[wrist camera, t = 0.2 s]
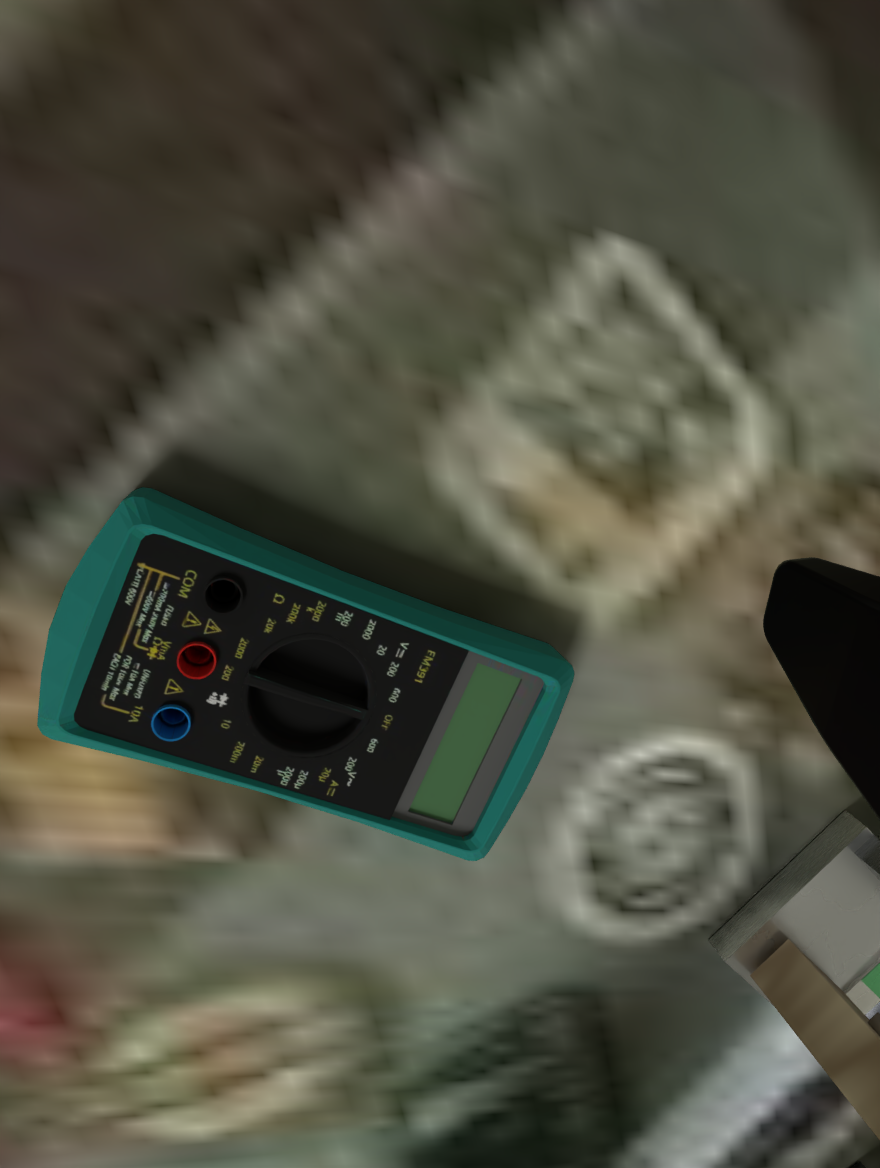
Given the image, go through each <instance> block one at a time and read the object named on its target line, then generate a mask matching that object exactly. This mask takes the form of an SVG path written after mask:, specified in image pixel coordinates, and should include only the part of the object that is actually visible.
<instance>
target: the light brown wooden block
mask: <svg viewBox="0 0 880 1168" xmlns="http://www.w3.org/2000/svg"><path fill="white" fill-rule="evenodd" d="M750 976H751V977H752V979H753V980H754V981H755V983H756V984H757V985H758V986H759V988H760V989H761V990H762V991H763V993H764V994H765V995H766V996H767V998H768V999H769V1000H770V1002H771V1003H772V1004H773V1005H774V1007H775V1008H776V1009H777V1010H778V1012H779V1013H780V1014H781V1016H782V1017H783V1018H784V1019H785V1021H786V1022H787V1023H788V1024H789V1026H790V1027H791V1028H792V1030H793V1031H794V1032H795V1033H796V1035H797V1036H798V1037H799V1038H800V1040H801V1041H802V1042H803V1043H804V1045H805V1046H806V1047H807V1049H808V1050H809V1051H810V1052H811V1054H812V1055H813V1056H814V1057H815V1059H816V1060H817V1061H818V1063H819V1064H820V1065H821V1066H822V1068H823V1069H824V1070H825V1071H826V1073H827V1074H828V1075H829V1077H830V1078H831V1079H832V1080H833V1082H834V1083H835V1084H836V1085H837V1087H838V1088H839V1089H840V1090H841V1092H842V1093H843V1094H844V1096H845V1097H846V1098H847V1099H848V1101H849V1102H850V1103H851V1104H852V1106H853V1107H854V1108H855V1110H856V1111H857V1112H858V1113H859V1115H860V1116H861V1117H862V1118H863V1120H864V1121H865V1122H866V1123H867V1125H868V1126H869V1127H870V1129H871V1130H872V1131H873V1132H874V1134H875V1135H876V1136H877V1137H878V1139H879V1140H880V1014H879V1013H878V1012H877V1013H876V1014H875V1015H874V1016H873V1017H872V1018H871V1019H870V1020H869V1019H868V1018H867V1017H866V1016H865V1015H864V1014H863V1013H862V1011H861V1010H860V1009H859V1008H858V1007H857V1006H856V1005H855V1004H854V1003H853V1002H852V1000H851V999H850V998H849V997H848V996H847V995H846V994H845V993H844V992H843V991H842V990H841V989H840V988H839V987H838V986H837V985H836V984H835V983H834V982H833V981H832V980H831V979H830V978H829V977H828V976H827V975H826V974H825V973H824V972H822V971H821V970H820V969H819V968H818V967H817V966H816V965H815V964H814V963H813V962H812V961H811V960H810V959H809V958H808V957H807V956H806V955H805V954H804V953H803V952H802V951H801V950H800V949H799V948H798V947H796V946H795V945H794V944H793V943H792V942H791V941H790V940H789V939H788V940H787V941H786V942H785V943H784V944H783V945H782V946H780V947H779V948H778V949H777V950H776V951H775V952H774V953H773V954H772V955H771V956H770V957H769V958H768V959H767V960H766V961H765V962H764V963H763V964H761V965H760V966H759V967H758V968H757V969H756V970H755V971H754V972H753V973H752V974H751V975H750Z"/></svg>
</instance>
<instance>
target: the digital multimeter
mask: <svg viewBox="0 0 880 1168" xmlns="http://www.w3.org/2000/svg"><path fill="white" fill-rule="evenodd" d="M163 535H164V536H163ZM165 536H166V537H165ZM168 537H169V538H168ZM171 538H172V539H171ZM173 539H174V540H173ZM176 540H177V541H176ZM179 541H180V542H179ZM181 542H182V543H181ZM184 543H185V544H184ZM186 544H188V545H186ZM189 545H190V546H189ZM192 546H193V547H192ZM194 547H196V548H194ZM197 548H198V549H197ZM200 549H201V550H200ZM202 550H204V551H202ZM205 551H206V552H205ZM208 552H209V553H208ZM210 553H212V554H210ZM213 554H214V555H213ZM216 555H217V556H216ZM218 556H220V557H218ZM221 557H222V558H221ZM224 558H225V559H224ZM226 559H228V560H226ZM229 560H230V561H229ZM232 561H233V562H232ZM234 562H236V563H234ZM237 563H238V564H237ZM240 564H241V565H240ZM242 565H244V566H242ZM245 566H246V567H245ZM248 567H249V568H248ZM250 568H252V569H250ZM253 569H254V570H253ZM256 570H257V571H256ZM258 571H260V572H258ZM261 572H262V573H261ZM264 573H265V574H264ZM266 574H268V575H266ZM269 575H270V576H269ZM272 576H273V577H272ZM274 577H275V578H274ZM277 578H278V579H277ZM280 579H281V580H280ZM282 580H283V581H282ZM124 581H125V582H124ZM285 581H286V582H285ZM288 582H289V583H288ZM290 583H291V584H290ZM293 584H294V585H293ZM295 585H297V586H295ZM298 586H299V587H298ZM301 587H302V588H301ZM303 588H304V589H303ZM306 589H307V590H306ZM309 590H310V591H309ZM311 591H312V592H311ZM314 592H315V593H314ZM317 593H318V594H317ZM119 594H120V595H119ZM319 594H320V595H319ZM322 595H323V596H322ZM325 596H326V597H325ZM327 597H328V598H327ZM330 598H331V599H330ZM335 600H336V601H335ZM338 601H339V602H338ZM343 603H344V604H343ZM346 604H347V605H346ZM351 606H352V607H351ZM354 607H355V608H354ZM359 609H360V610H359ZM362 610H363V611H362ZM112 612H113V613H112ZM367 612H368V613H367ZM370 613H371V614H370ZM375 615H376V616H375ZM378 616H379V617H378ZM383 618H384V619H383ZM386 619H387V620H386ZM391 621H392V622H391ZM394 622H395V623H394ZM396 623H397V624H396ZM399 624H400V625H399ZM107 625H108V626H107ZM402 625H403V626H402ZM404 626H405V627H404ZM407 627H408V628H407ZM410 628H411V629H410ZM412 629H413V630H412ZM415 630H416V631H415ZM418 631H419V632H418ZM420 632H421V633H420ZM423 633H424V634H423ZM321 634H324V635H321ZM426 634H427V635H426ZM295 635H297V636H295ZM428 635H429V636H428ZM431 636H432V637H431ZM334 637H335V638H334ZM434 637H435V638H434ZM102 638H103V639H102ZM285 638H286V639H285ZM337 638H338V639H337ZM436 638H437V639H436ZM283 639H284V640H283ZM439 639H440V640H439ZM281 640H282V641H281ZM442 640H443V641H442ZM444 641H445V642H444ZM447 642H448V643H447ZM100 643H101V644H100ZM347 643H348V644H347ZM450 643H451V644H450ZM273 644H274V645H273ZM452 644H453V645H452ZM271 645H272V646H271ZM455 645H456V646H455ZM270 646H271V647H270ZM460 647H461V648H460ZM463 648H464V649H463ZM261 653H262V654H261ZM260 654H261V655H260ZM259 655H260V656H259ZM95 656H96V657H95ZM254 661H255V662H254ZM253 662H254V663H253ZM251 665H252V666H251ZM90 669H91V670H90ZM371 670H372V671H371ZM246 674H247V675H246ZM245 677H246V678H245ZM573 678H574V670H573V667H572V665H571V664H570V663H569V662H568V661H567V660H566V659H565V658H564V657H563V656H562V655H561V654H559V653H558V652H557V651H556V650H555V649H554V648H553V647H552V646H551V645H549V644H548V643H545V642H542V641H539V640H536V639H533V638H530V637H527V636H524V635H521V634H518V633H515V632H512V631H509V630H506V629H503V628H500V627H497V626H494V625H491V624H488V623H485V622H482V621H479V620H476V619H473V618H470V617H467V616H464V615H461V614H458V613H455V612H452V611H449V610H446V609H443V608H440V607H438V606H435V605H432V604H430V603H427V602H424V601H422V600H419V599H416V598H414V597H411V596H408V595H406V594H403V593H400V592H398V591H395V590H392V589H390V588H387V587H384V586H382V585H379V584H376V583H374V582H371V581H368V580H365V579H363V578H360V577H357V576H355V575H352V574H349V573H347V572H344V571H342V570H339V569H337V568H334V567H332V566H330V565H327V564H325V563H323V562H320V561H318V560H315V559H313V558H311V557H308V556H306V555H304V554H301V553H299V552H296V551H294V550H292V549H289V548H287V547H285V546H282V545H280V544H277V543H275V542H273V541H270V540H268V539H266V538H263V537H261V536H258V535H256V534H254V533H251V532H249V531H246V530H244V529H242V528H239V527H237V526H235V525H233V524H230V523H228V522H226V521H224V520H222V519H219V518H217V517H215V516H213V515H210V514H208V513H206V512H204V511H201V510H199V509H197V508H195V507H192V506H190V505H188V504H186V503H183V502H181V501H179V500H177V499H175V498H172V497H170V496H168V495H166V494H163V493H161V492H159V491H157V490H154V489H152V488H144V487H141V488H139V489H136V490H134V491H132V492H131V493H130V494H129V495H128V496H127V497H126V498H125V499H124V500H123V501H122V502H121V504H120V505H119V506H118V508H117V509H116V510H115V512H114V513H113V514H112V516H111V517H110V519H109V520H108V521H107V523H106V524H105V525H104V527H103V528H102V530H101V531H100V532H99V534H98V535H97V536H96V538H95V539H94V541H93V542H92V543H91V545H90V546H89V548H88V549H87V551H86V553H85V554H84V556H83V558H82V559H81V561H80V563H79V565H78V566H77V568H76V570H75V571H74V573H73V575H72V576H71V578H70V580H69V581H68V583H67V585H66V587H65V589H64V592H63V594H62V597H61V600H60V602H59V605H58V608H57V610H56V613H55V616H54V618H53V621H52V624H51V626H50V629H49V634H48V640H47V645H46V651H45V656H44V662H43V667H42V673H41V685H40V698H39V710H38V725H37V726H38V728H39V729H40V731H41V733H42V734H43V735H45V736H47V737H49V738H50V739H53V740H58V741H62V742H66V743H70V744H74V745H79V746H83V747H87V748H91V749H95V750H100V751H104V752H108V753H112V754H116V755H121V756H125V757H129V758H133V759H137V760H142V761H146V762H150V763H154V764H157V765H161V766H165V767H169V768H173V769H176V770H180V771H184V772H188V773H192V774H195V775H199V776H203V777H207V778H211V779H214V780H218V781H222V782H226V783H230V784H233V785H237V786H241V787H245V788H249V789H252V790H256V791H260V792H263V793H266V794H269V795H273V796H276V797H279V798H282V799H285V800H289V801H292V802H295V803H298V804H302V805H305V806H308V807H311V808H315V809H318V810H321V811H324V812H327V813H331V814H334V815H337V816H340V817H344V818H347V819H350V820H353V821H357V822H360V823H362V824H365V825H368V826H371V827H374V828H377V829H380V830H382V831H385V832H388V833H391V834H394V835H397V836H400V837H402V838H405V839H408V840H411V841H414V842H417V843H420V844H422V845H425V846H428V847H431V848H434V849H437V850H440V851H442V852H445V853H448V854H451V855H454V856H457V857H460V858H462V859H465V860H468V861H477V860H479V859H481V858H484V857H485V855H486V854H487V853H488V852H489V850H490V849H491V847H492V846H493V844H494V842H495V841H496V839H497V837H498V836H499V834H500V833H501V831H502V829H503V828H504V826H505V825H506V823H507V821H508V820H509V818H510V816H511V814H512V813H513V811H514V809H515V807H516V806H517V804H518V802H519V800H520V799H521V797H522V795H523V793H524V792H525V790H526V788H527V786H528V784H529V782H530V780H531V778H532V776H533V774H534V772H535V770H536V768H537V766H538V764H539V762H540V760H541V758H542V756H543V754H544V752H545V749H546V747H547V745H548V742H549V740H550V737H551V735H552V733H553V730H554V728H555V726H556V723H557V721H558V718H559V716H560V713H561V711H562V708H563V706H564V703H565V700H566V698H567V695H568V693H569V690H570V687H571V685H572V682H573ZM85 682H86V683H85ZM242 687H243V688H242ZM241 699H242V703H241ZM374 706H375V707H374ZM370 718H371V719H370ZM247 724H248V725H247ZM366 725H367V726H366ZM364 728H365V729H364ZM359 734H360V735H359ZM358 735H359V736H358ZM357 736H358V737H357ZM356 737H357V738H356ZM355 738H356V739H355ZM354 739H355V740H354ZM349 743H350V744H349ZM346 745H347V746H346ZM345 746H346V747H345ZM343 747H344V748H343ZM335 751H336V752H335ZM333 752H334V753H333ZM283 754H284V755H283ZM287 755H288V756H287ZM324 755H325V756H324ZM296 757H299V758H296ZM312 757H314V758H312Z"/></svg>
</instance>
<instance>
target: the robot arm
mask: <svg viewBox="0 0 880 1168" xmlns="http://www.w3.org/2000/svg"><path fill="white" fill-rule="evenodd" d="M763 627H764V633H765V636H766V639H767V641H768V643H769V645H770V646H771V648H772V650H773V652H774V654H775V655H776V657H777V659H778V661H779V662H780V664H781V666H782V668H783V670H784V671H785V673H786V675H787V677H788V679H789V680H790V682H791V684H792V686H793V687H794V689H795V691H796V693H797V695H798V696H799V698H800V700H801V702H802V704H803V705H804V707H805V709H806V711H807V713H808V714H809V716H810V718H811V720H812V721H813V723H814V725H815V726H816V728H817V730H818V732H819V733H820V735H821V737H822V738H823V740H824V741H825V743H826V744H827V746H828V747H829V749H830V750H831V752H832V753H833V755H834V756H835V758H836V759H837V760H838V762H839V763H840V765H841V766H842V768H843V769H844V770H845V772H846V773H847V775H848V776H849V777H850V779H851V780H852V782H853V783H854V785H855V786H856V787H857V789H858V790H859V792H860V793H861V794H862V796H863V797H864V799H865V800H866V802H867V803H868V804H869V806H870V807H871V809H872V810H873V811H874V813H875V814H876V816H877V817H878V819H879V820H880V577H879V576H876V575H872V574H869V573H866V572H862V571H859V570H856V569H852V568H849V567H846V566H842V565H839V564H836V563H832V562H829V561H826V560H822V559H819V558H802V559H793V560H786V561H784V562H782V563H781V564H780V565H779V566H778V567H777V569H776V571H775V573H774V577H773V581H772V585H771V590H770V594H769V598H768V602H767V606H766V610H765V614H764V620H763Z"/></svg>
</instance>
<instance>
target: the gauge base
mask: <svg viewBox="0 0 880 1168" xmlns="http://www.w3.org/2000/svg"><path fill="white" fill-rule="evenodd" d="M788 939H789V940H790V941H791V942H792V943H793V944H794V945H795V946H796V947H798V948H799V949H800V950H801V951H802V952H803V953H804V954H805V955H806V956H807V957H808V958H809V959H810V960H811V961H812V962H813V963H814V964H815V965H816V966H817V967H818V968H819V969H820V970H821V971H822V972H824V973H825V974H826V975H827V976H828V977H829V978H830V979H831V980H832V981H833V982H834V983H835V984H836V985H837V986H838V987H839V988H840V989H841V990H842V991H843V992H844V993H845V994H846V995H847V996H848V997H849V998H850V999H851V1000H852V1002H853V1003H854V1004H855V1005H856V1006H857V1007H858V1008H859V1009H860V1010H861V1011H862V1013H863V1014H864V1015H866V1014H867V1013H868V1012H869V1011H870V1010H871V1009H872V1008H873V1007H874V1006H875V1005H876V1004H877V1003H878V1002H879V1001H880V839H879V838H877V837H876V836H875V835H873V833H872V832H871V831H870V830H869V829H868V828H867V827H866V826H865V825H863V824H862V823H861V822H860V821H858V820H857V819H856V818H854V817H853V816H852V815H851V814H849V813H848V812H847V811H844V812H843V813H842V814H840V815H839V816H838V817H837V818H836V819H835V820H834V821H833V822H832V823H831V824H830V825H829V826H828V827H827V828H826V829H825V830H824V831H823V832H822V833H821V834H819V835H818V836H817V837H816V838H815V839H814V840H813V841H812V842H811V843H810V844H809V845H808V846H807V847H806V848H805V849H804V850H803V851H802V852H801V853H800V854H798V855H797V856H796V857H795V858H794V859H793V860H792V861H791V862H790V863H789V864H788V865H787V866H786V867H785V868H784V869H783V870H782V871H781V872H780V873H778V874H777V875H776V876H775V877H774V878H773V879H772V880H771V881H770V882H769V883H768V884H767V885H766V886H765V887H764V888H763V889H762V890H761V891H760V892H759V893H757V894H756V895H755V896H754V897H753V898H752V899H751V900H750V901H749V902H748V903H747V904H746V905H745V906H744V907H743V908H742V909H741V910H740V911H739V912H738V913H736V914H735V915H734V916H733V917H732V918H731V919H730V920H729V921H728V922H727V923H726V924H725V925H724V926H723V927H722V928H721V929H720V930H719V931H718V932H717V933H715V934H714V935H713V936H712V937H711V938H710V939H709V942H710V943H711V944H712V946H713V947H714V948H715V949H716V951H717V952H718V953H719V955H720V956H721V957H722V959H723V960H724V961H725V962H726V963H727V964H728V965H729V966H730V967H731V968H732V969H733V970H735V971H736V972H737V973H738V974H739V975H740V976H741V977H742V978H743V979H745V980H746V981H747V982H748V983H749V984H750V985H751V986H752V987H753V988H755V989H756V990H757V991H758V992H759V993H760V994H761V995H762V996H763V997H765V998H766V999H767V1000H768V1001H769V1002H770V1000H769V999H768V998H767V996H766V995H765V994H764V993H763V991H762V990H761V989H760V988H759V986H758V985H757V984H756V983H755V981H754V980H753V979H752V977H751V976H750V975H751V974H752V973H753V972H754V971H755V970H756V969H757V968H758V967H759V966H760V965H761V964H763V963H764V962H765V961H766V960H767V959H768V958H769V957H770V956H771V955H772V954H773V953H774V952H775V951H776V950H777V949H778V948H779V947H780V946H782V945H783V944H784V943H785V942H786V941H787V940H788ZM770 1003H771V1002H770ZM771 1004H772V1003H771ZM772 1005H773V1004H772ZM773 1006H774V1005H773Z"/></svg>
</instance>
